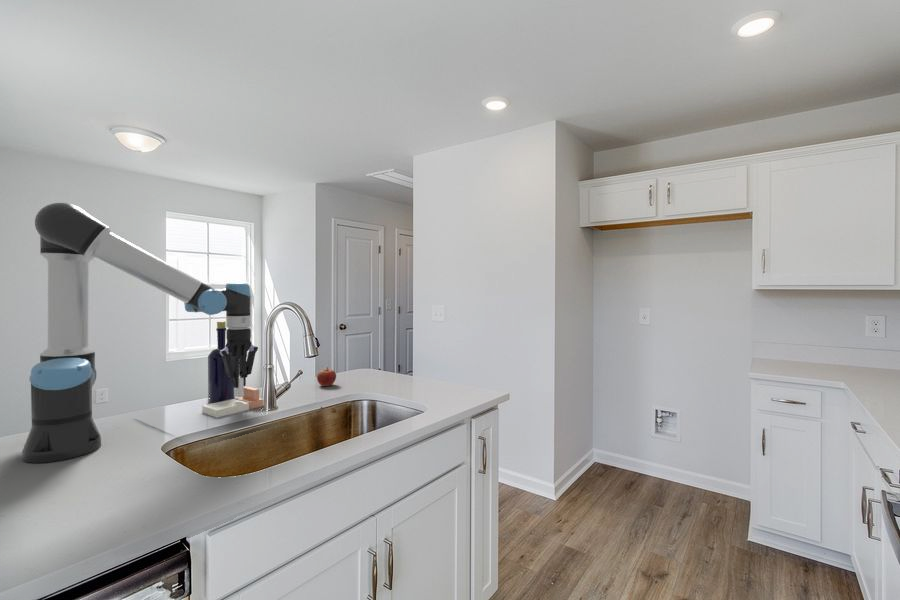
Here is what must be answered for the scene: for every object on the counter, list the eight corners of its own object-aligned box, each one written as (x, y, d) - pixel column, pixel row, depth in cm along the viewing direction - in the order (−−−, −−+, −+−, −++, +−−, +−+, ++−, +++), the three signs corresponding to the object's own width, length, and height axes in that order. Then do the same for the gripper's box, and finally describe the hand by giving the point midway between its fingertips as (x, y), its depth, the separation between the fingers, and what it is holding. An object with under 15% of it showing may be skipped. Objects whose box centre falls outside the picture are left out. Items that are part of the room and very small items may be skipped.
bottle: (241, 400, 163) (240, 320, 162) (226, 406, 154) (225, 322, 153) (218, 399, 164) (217, 320, 163) (201, 405, 155) (201, 322, 154)
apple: (337, 383, 192) (337, 365, 192) (334, 387, 184) (334, 369, 184) (319, 383, 192) (319, 365, 191) (315, 387, 184) (315, 369, 183)
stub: (249, 409, 147) (249, 391, 147) (235, 404, 152) (235, 388, 152) (263, 406, 151) (263, 389, 151) (249, 401, 156) (249, 385, 156)
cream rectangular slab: (216, 417, 138) (216, 409, 138) (202, 412, 143) (202, 405, 143) (249, 409, 147) (249, 402, 147) (234, 405, 152) (234, 398, 152)
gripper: (225, 330, 140) (226, 402, 141) (262, 327, 151) (263, 394, 152) (213, 328, 145) (214, 398, 145) (250, 326, 155) (251, 391, 156)
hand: (239, 396), depth 149 cm, fingers closed
